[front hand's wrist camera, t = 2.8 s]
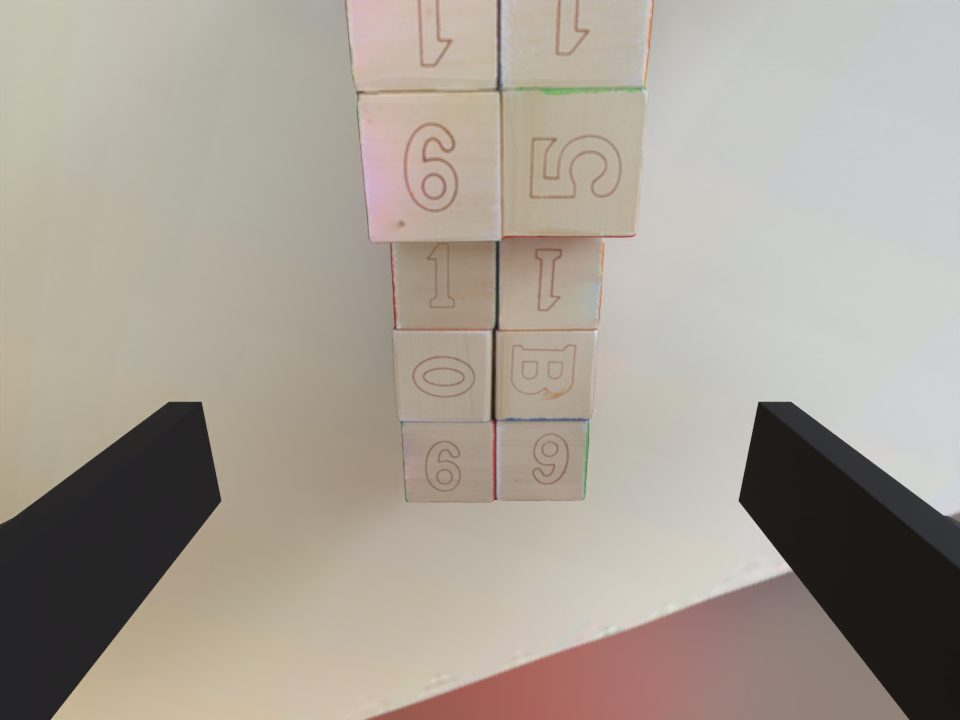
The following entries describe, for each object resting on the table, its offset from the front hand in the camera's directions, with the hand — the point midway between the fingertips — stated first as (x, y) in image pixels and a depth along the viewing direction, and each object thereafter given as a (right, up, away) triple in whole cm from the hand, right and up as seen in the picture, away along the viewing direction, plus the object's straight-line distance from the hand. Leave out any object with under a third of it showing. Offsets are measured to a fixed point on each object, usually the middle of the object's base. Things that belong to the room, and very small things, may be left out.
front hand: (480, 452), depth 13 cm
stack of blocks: (0, +11, +10) cm, 14 cm away
